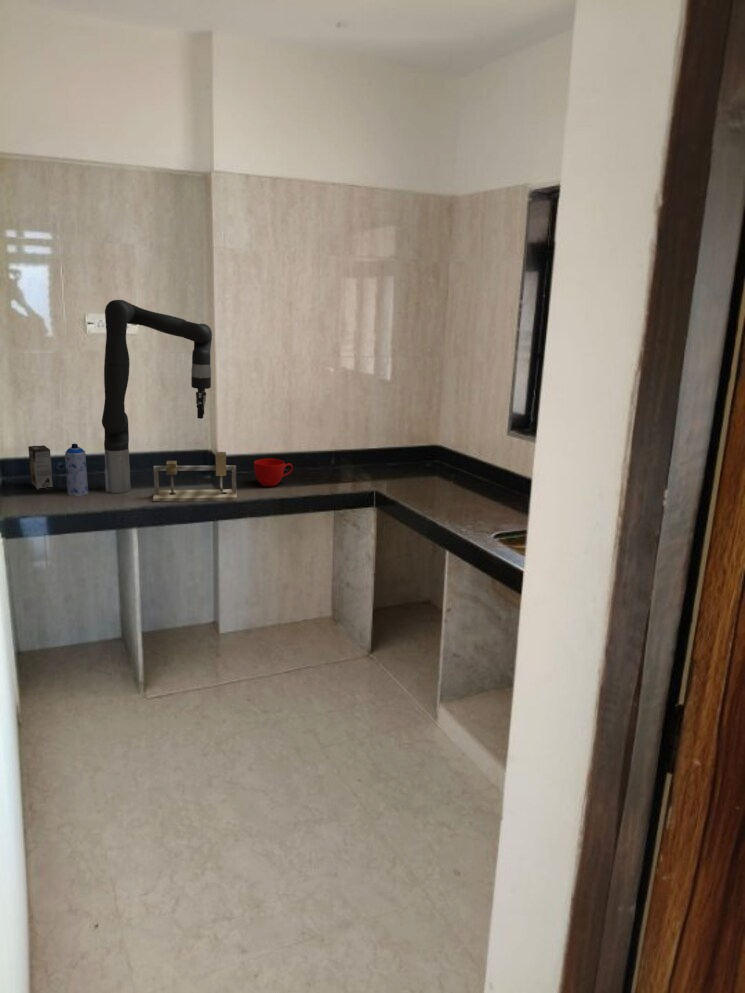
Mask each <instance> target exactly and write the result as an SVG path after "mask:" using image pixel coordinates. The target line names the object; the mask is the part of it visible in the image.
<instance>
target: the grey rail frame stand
mask: <svg viewBox="0 0 745 993" xmlns="http://www.w3.org/2000/svg"><path fill="white" fill-rule="evenodd" d="M177 462H178V461H177V460H167V461H166V465H153V485H154V487H153V488H154V494H153V498H152V502H153V501H171V503H175V502H176V503H179V502H180V501H181V503H184V502H191V503H193V502H237V501H238V495H237V494H238V492H237V465H229V464H228V465H227V464H226V471H231V488H229V489H228V488H227V489H224V488H223V492H220V489H174V488H175V486H174V485H175V484H174V476H177V473H178V471H179V472H180V471H183V472H184V471H185V472H187V471H188V472H189V471H191V472H193V471H194V472H195V471H198V472H199V471H200V472H201V471H216V465H178V464H177ZM163 471H164V472H166V476H168V475H169V476H170V489H162V490H161V489H160V485H159V484H160V483H159V482H160V480H159V478H160V477H159V472H163ZM172 501H173V502H172ZM177 501H179V502H177ZM182 501H183V502H182Z"/></svg>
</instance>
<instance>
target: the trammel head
mask: <svg viewBox="0 0 745 993" xmlns="http://www.w3.org/2000/svg"><path fill="white" fill-rule="evenodd" d="M226 465H227V451H215V466H216V470H215V477H218V476H219V490H220V492H223V489H224V488H223V487H224V486H223V481H224V480H223V477H226V476H227V470H226Z"/></svg>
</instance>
